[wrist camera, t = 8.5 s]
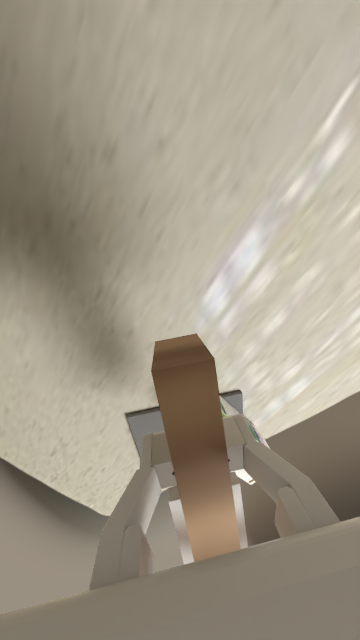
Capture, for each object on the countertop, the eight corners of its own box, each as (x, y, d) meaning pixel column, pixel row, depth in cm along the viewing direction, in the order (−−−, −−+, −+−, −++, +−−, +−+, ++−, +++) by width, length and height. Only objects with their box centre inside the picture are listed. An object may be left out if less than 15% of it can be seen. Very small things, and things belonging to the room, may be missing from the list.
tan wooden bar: (134, 345, 10) (118, 377, 6) (216, 329, 10) (244, 352, 7) (184, 554, 14) (192, 647, 10) (243, 537, 14) (271, 621, 10)
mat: (240, 390, 27) (242, 393, 26) (241, 448, 32) (243, 451, 31) (127, 414, 26) (126, 417, 25) (146, 470, 31) (146, 474, 30)
